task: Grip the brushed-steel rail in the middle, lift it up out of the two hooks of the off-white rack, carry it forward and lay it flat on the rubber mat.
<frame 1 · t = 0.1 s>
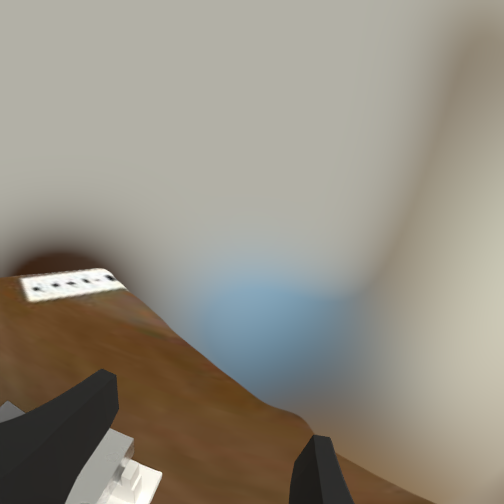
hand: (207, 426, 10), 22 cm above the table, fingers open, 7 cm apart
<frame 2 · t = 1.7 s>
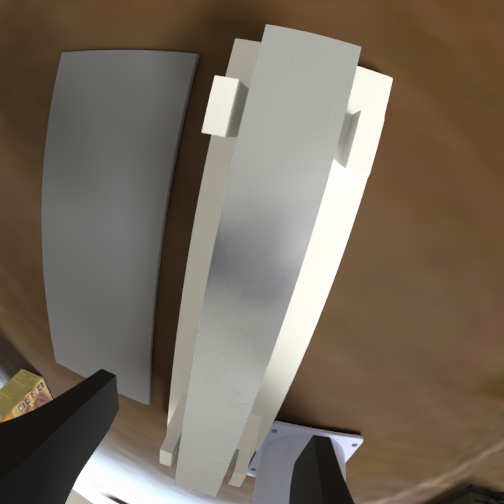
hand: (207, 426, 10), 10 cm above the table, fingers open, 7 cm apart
candy box: (46, 398, 29), on the table
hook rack: (252, 298, 19), on the table
rail: (237, 341, 15), point 4 cm above the table, touching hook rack
rubber mat: (95, 249, 20), on the table
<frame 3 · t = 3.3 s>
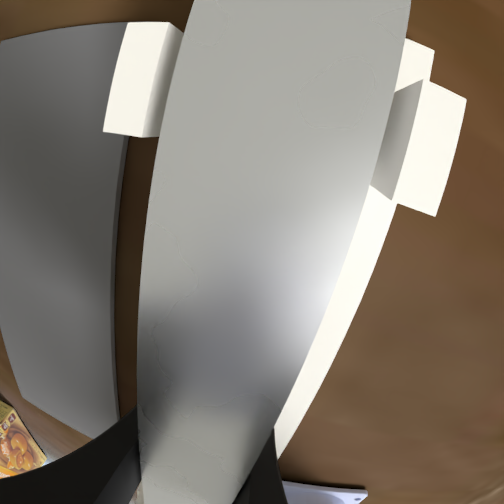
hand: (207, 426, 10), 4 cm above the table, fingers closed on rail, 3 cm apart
candy box: (21, 427, 23), on the table
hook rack: (232, 354, 14), on the table
rail: (206, 430, 10), point 4 cm above the table, touching gripper, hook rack
rubber mat: (41, 282, 15), on the table
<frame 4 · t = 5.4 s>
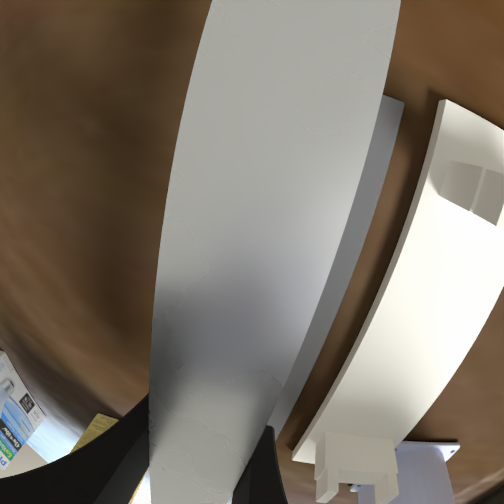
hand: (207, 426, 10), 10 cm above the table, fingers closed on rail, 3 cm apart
candy box: (124, 440, 28), on the table
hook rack: (415, 340, 18), on the table
rail: (211, 415, 10), point 9 cm above the table, touching gripper
rubber mat: (251, 299, 19), on the table
light bulb box: (13, 381, 29), on the table
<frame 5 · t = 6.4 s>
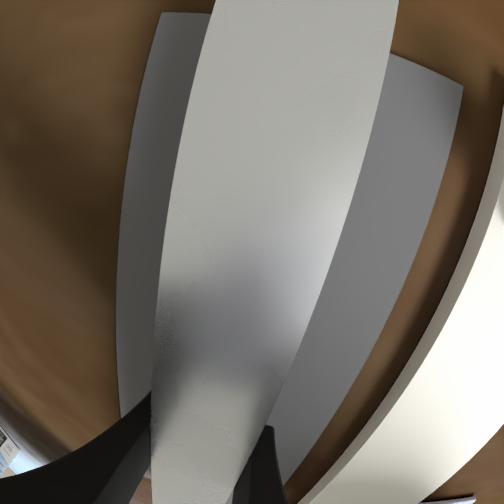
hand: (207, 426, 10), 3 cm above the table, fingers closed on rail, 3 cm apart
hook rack: (445, 413, 12), on the table
rail: (212, 412, 11), point 2 cm above the table, touching gripper
rubber mat: (227, 372, 13), on the table
when the fingers open (2 cm above the table, at t = 7.5 s): rail stays where it is, resting on rubber mat.
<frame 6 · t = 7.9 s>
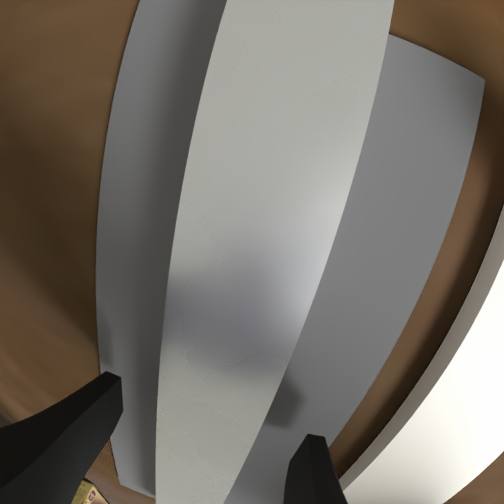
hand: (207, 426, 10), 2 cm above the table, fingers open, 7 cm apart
candy box: (93, 495, 20), on the table
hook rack: (452, 434, 11), on the table
rail: (215, 403, 11), resting on rubber mat
rubber mat: (218, 395, 11), on the table
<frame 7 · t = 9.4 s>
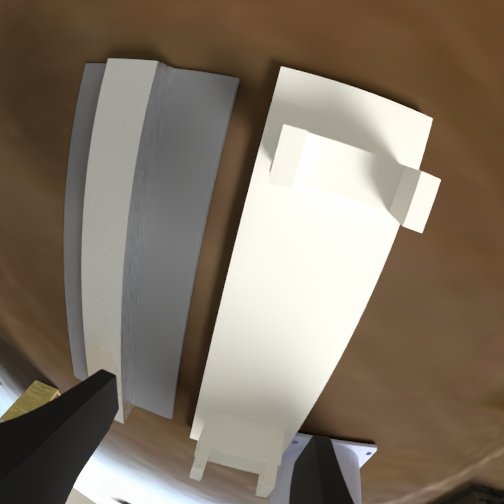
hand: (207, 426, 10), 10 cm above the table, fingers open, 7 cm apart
candy box: (60, 408, 29), on the table
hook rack: (284, 322, 19), on the table
rail: (119, 274, 20), resting on rubber mat
rubber mat: (122, 271, 20), on the table
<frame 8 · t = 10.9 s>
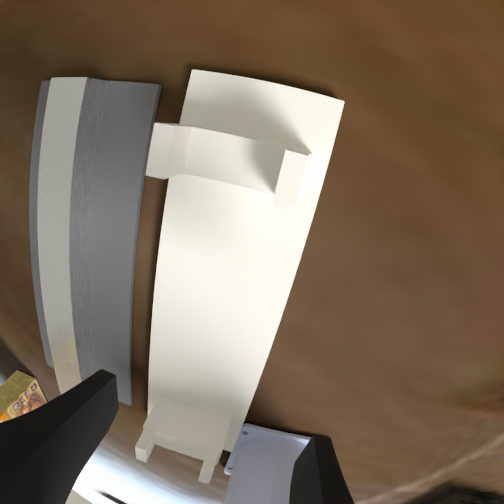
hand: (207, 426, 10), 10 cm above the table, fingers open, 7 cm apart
candy box: (39, 397, 30), on the table
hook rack: (216, 310, 20), on the table
rail: (74, 266, 21), resting on rubber mat
rubber mat: (77, 263, 21), on the table
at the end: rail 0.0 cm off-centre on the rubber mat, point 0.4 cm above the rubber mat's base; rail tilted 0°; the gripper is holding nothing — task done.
